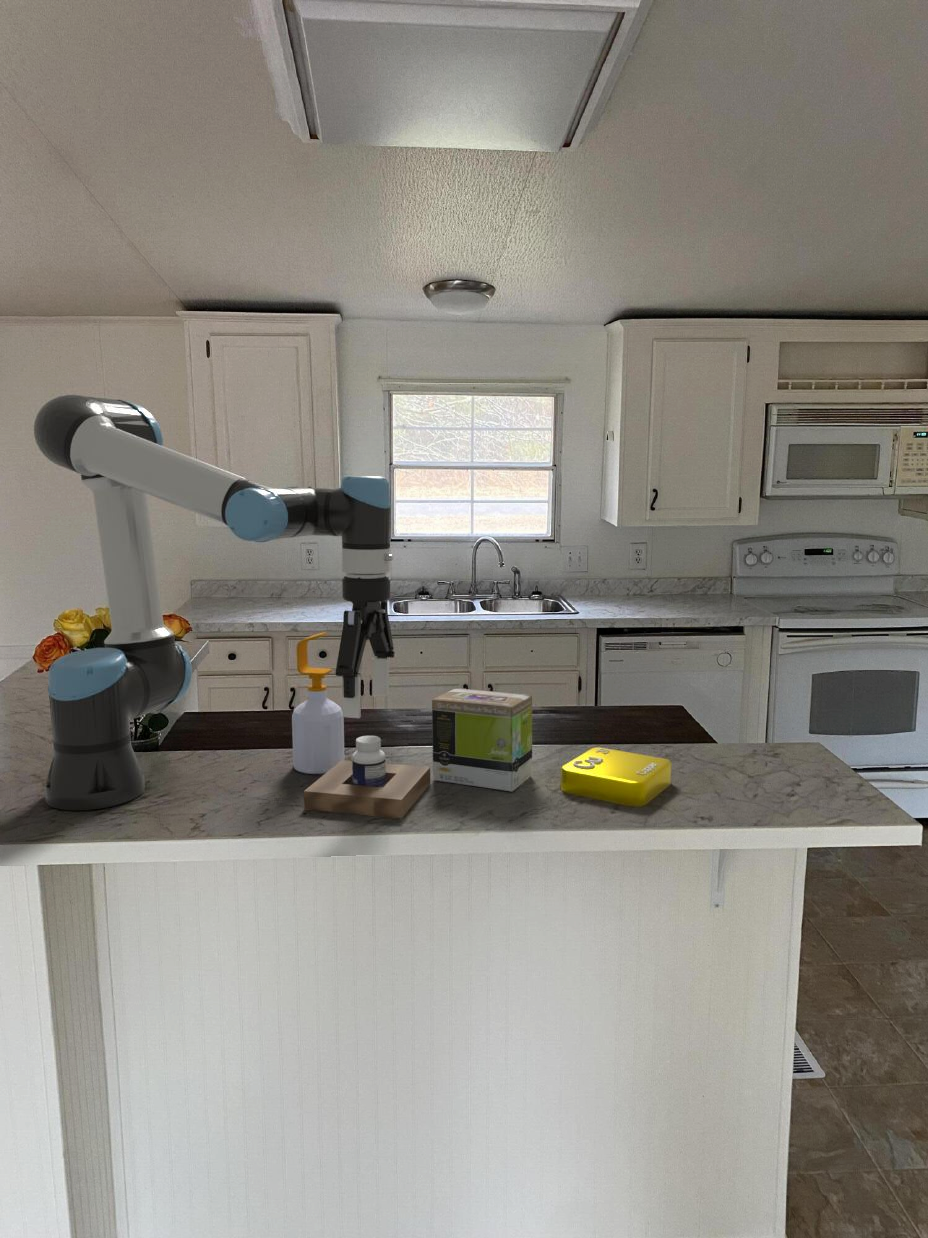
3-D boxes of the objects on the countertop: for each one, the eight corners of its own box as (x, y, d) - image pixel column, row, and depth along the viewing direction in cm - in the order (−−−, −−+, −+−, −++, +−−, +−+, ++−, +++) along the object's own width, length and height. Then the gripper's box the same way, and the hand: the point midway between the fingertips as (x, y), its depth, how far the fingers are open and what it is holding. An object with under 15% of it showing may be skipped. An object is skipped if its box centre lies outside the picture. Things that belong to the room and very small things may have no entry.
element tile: (641, 811, 139) (642, 782, 138) (556, 793, 147) (556, 765, 146) (674, 784, 151) (675, 757, 150) (593, 768, 159) (594, 743, 159)
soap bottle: (334, 776, 154) (331, 638, 150) (285, 773, 155) (281, 636, 152) (351, 761, 162) (348, 629, 158) (304, 757, 164) (300, 627, 160)
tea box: (533, 776, 154) (534, 693, 152) (512, 794, 145) (512, 707, 143) (455, 764, 160) (455, 685, 158) (430, 781, 151) (430, 697, 149)
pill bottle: (349, 793, 145) (347, 736, 144) (380, 789, 147) (379, 732, 146) (358, 804, 140) (356, 745, 139) (390, 799, 142) (389, 741, 141)
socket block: (304, 809, 138) (303, 791, 138) (342, 776, 154) (341, 760, 153) (401, 818, 134) (401, 799, 134) (430, 784, 150) (430, 767, 149)
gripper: (361, 585, 126) (361, 729, 129) (412, 568, 149) (411, 690, 153) (312, 583, 127) (314, 725, 131) (370, 566, 151) (370, 687, 155)
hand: (366, 706), depth 142 cm, fingers open, 13 cm apart
